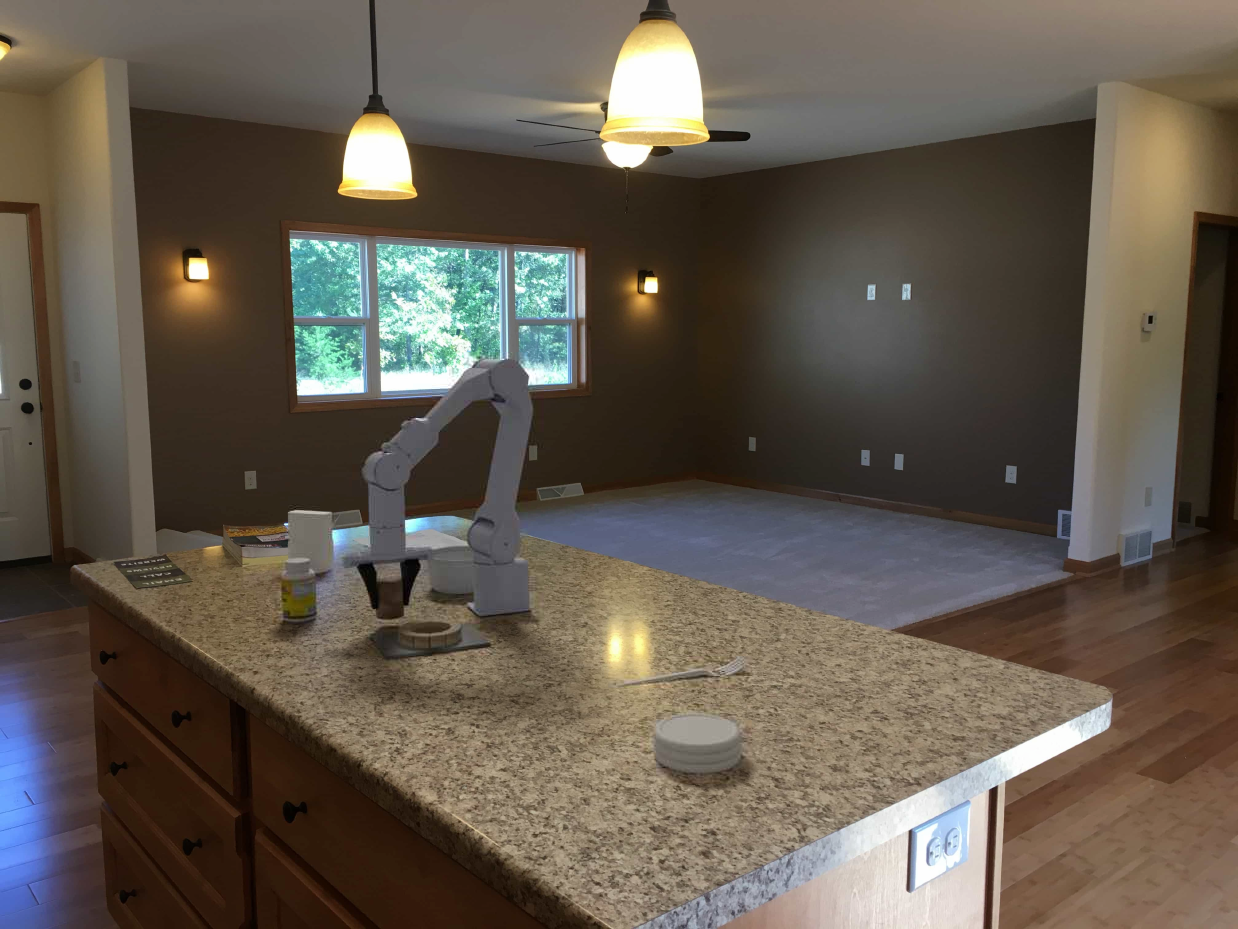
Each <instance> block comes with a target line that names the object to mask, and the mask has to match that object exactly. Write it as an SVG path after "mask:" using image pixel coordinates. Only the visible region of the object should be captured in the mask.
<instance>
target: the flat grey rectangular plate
mask: <svg viewBox="0 0 1238 929" xmlns="http://www.w3.org/2000/svg"><path fill="white" fill-rule="evenodd" d="M370 636H371V639H372V641H374V643H375V645H376V646H377V648H378V649H379V650H380V651H381V653H382V654H383V656H384V657H385V659H386V660H393V659H399V658H408V657H416V656H423V655H432V654H438V653H439V654H440V653H446V652H454V651H462V650H463V651H464V650H469V649H477V648H478V649H479V648H483V647H491V644H492V643H491V641H490V640H488V639H487V638H486V637H485V636H484V635H483V634H482V633H481V632H480V631H479V630H477V629H476V628H475V627H474V626H473V625H472V623H470V622H465V623H459V622H458V621H455V620H450V619H448V618H447V619H445V618H443V619H441V618H427V619H418V620H413V621H410V622H406V623H403V624H402V625H400V627H399V628H397V631H391V632H383V633H381V632H380V633H373V634H371V635H370Z"/></svg>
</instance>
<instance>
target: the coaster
mask: <svg viewBox="0 0 1238 929" xmlns="http://www.w3.org/2000/svg"><path fill="white" fill-rule="evenodd" d="M652 732H653V734H652V735H653V742H652V743H653V750H652V753H653V754H652V755H653V756H654V759H655V761H657V763H659V764H660V765H661V764H662V765H661V766H662V767H664V766H665V767H664V768H667V767H668V768H667V769H669V768H670V769H669V770H671V769H673V770H672V771H674V770H677V771H676V772H678V771H682V772H681V773H683V772H686V773H685V774H690V773H695V774H694V775H709V774H708V773H711V774H717V773H716V772H718V773H722V772H725V771H728V770H731V769H732V768H734V767H736V765H738V764H739V762H740V761H741V758H742V752H741V750H742V736H743V735H742V731H741V729H740V727H739V726H738V725H737V724H736V723H735V722H733V721H731V720H730V719H728V718H726V717H722V716H719V715H713V714H708V713H697V712H696V713H695V712H694V713H691V712H690V713H681V714H675V715H674V714H673V715H671V716H668V717H665V718H662V719H661V720H660V721H659V722H657V723H656V724H655V725H654V728H653V731H652ZM706 773H707V774H706Z"/></svg>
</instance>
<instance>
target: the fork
mask: <svg viewBox="0 0 1238 929" xmlns="http://www.w3.org/2000/svg"><path fill="white" fill-rule="evenodd" d="M748 663H749V661H746V659H744V657H742V656H739V657H738V658H736V659H735V660H733V661H731V662H730V663H727V664H725V665H724V666H721V667H718V668H714V669H715V670H720V671H719V672H720V673H721V674H723V673H725V675H730V676H735V674H737V673H738V672H740V671H742V669H743V668H745V666H746V665H747V664H748ZM710 670H711V669H707V668H697V669H696V668H695V669H691V670H687V671H680V672H675V673H669V674H664V675H659V676H654V677H648V678H644V679H643V678H642V679H637V680H632V681H631V680H630V681H627V682H621V683H615V684H616V685H617V686H619V685H620V686H619V687H622V686H621V685H627V686H630V685H629V684H635V685H637V684H636V683H642V682H652V683H655V682H654V681H660V682H664V681H663V680H669V681H672V680H671V679H676V678H682V679H687V677H688V678H693V677H699V676H708V677H710V676H716V675H715V673H713V672H712V671H710ZM722 671H725V672H722ZM676 680H677V679H676Z"/></svg>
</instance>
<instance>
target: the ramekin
mask: <svg viewBox="0 0 1238 929" xmlns="http://www.w3.org/2000/svg"><path fill="white" fill-rule="evenodd" d="M432 549H433V560H425V562H426V563H427V572H428V579H429V584H430V587H431V588H432V589H433V590H434V591H436V592H437V593H441V594H447V595H449V594H450V595H465V594H474V576H473V550H472V549H471V548H470V547H469V545H451V546H449V545H448V546H442V547H437V548H432Z"/></svg>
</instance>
